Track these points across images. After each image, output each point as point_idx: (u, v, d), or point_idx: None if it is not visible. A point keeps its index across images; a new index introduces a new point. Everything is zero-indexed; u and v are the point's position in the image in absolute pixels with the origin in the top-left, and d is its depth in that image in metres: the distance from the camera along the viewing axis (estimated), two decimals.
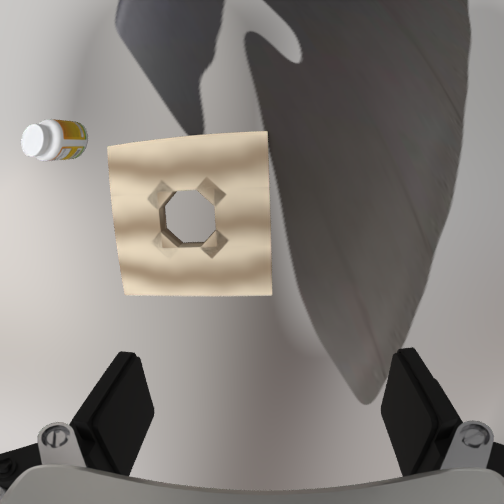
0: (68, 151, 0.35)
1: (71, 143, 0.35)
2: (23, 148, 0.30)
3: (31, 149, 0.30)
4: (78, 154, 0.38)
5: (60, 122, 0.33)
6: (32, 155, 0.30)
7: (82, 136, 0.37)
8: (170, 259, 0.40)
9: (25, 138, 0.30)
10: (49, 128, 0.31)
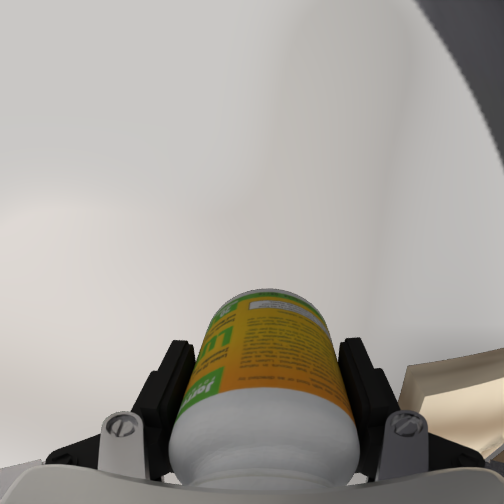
0: None
1: None
2: None
3: None
4: None
5: (332, 390, 0.08)
6: None
7: None
8: None
9: None
10: (323, 463, 0.06)
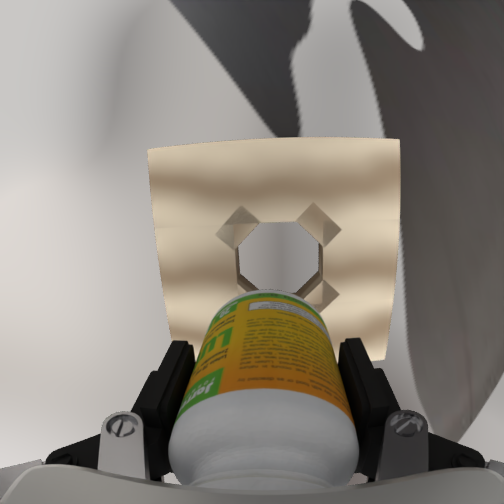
0: None
1: None
2: None
3: None
4: None
5: (331, 391, 0.08)
6: None
7: None
8: None
9: None
10: (322, 464, 0.06)
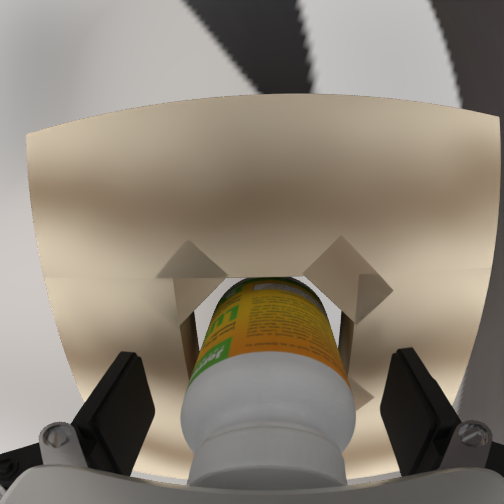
0: None
1: None
2: None
3: None
4: None
5: (329, 357, 0.09)
6: None
7: None
8: None
9: None
10: (322, 421, 0.07)
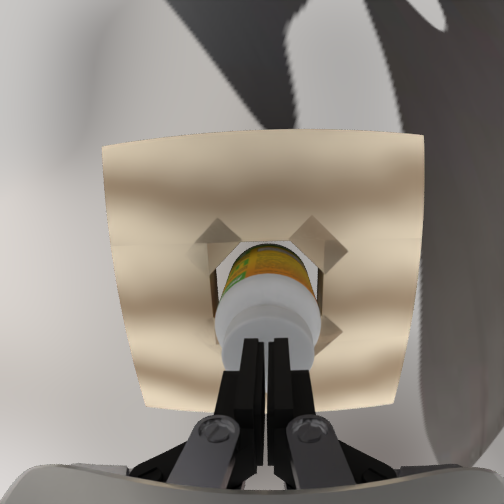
0: None
1: None
2: None
3: None
4: None
5: (303, 281, 0.16)
6: None
7: None
8: None
9: (240, 350, 0.13)
10: (298, 312, 0.15)
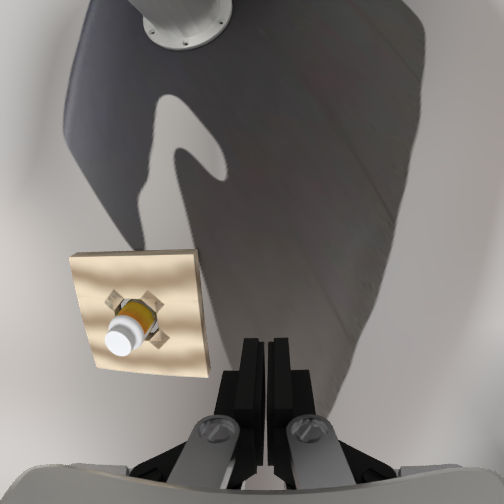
0: (146, 336, 0.44)
1: (148, 331, 0.44)
2: (109, 347, 0.39)
3: (118, 350, 0.39)
4: None
5: (137, 318, 0.42)
6: (120, 355, 0.39)
7: (154, 317, 0.46)
8: None
9: (109, 340, 0.39)
10: (130, 329, 0.40)
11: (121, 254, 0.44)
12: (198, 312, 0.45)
